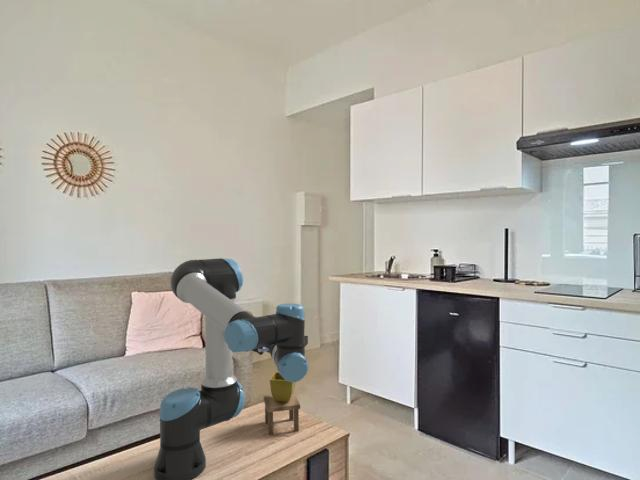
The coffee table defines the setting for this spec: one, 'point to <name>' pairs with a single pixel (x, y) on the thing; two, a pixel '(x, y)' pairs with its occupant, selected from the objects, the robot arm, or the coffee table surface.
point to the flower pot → (281, 388)
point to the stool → (281, 406)
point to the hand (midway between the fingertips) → (273, 336)
